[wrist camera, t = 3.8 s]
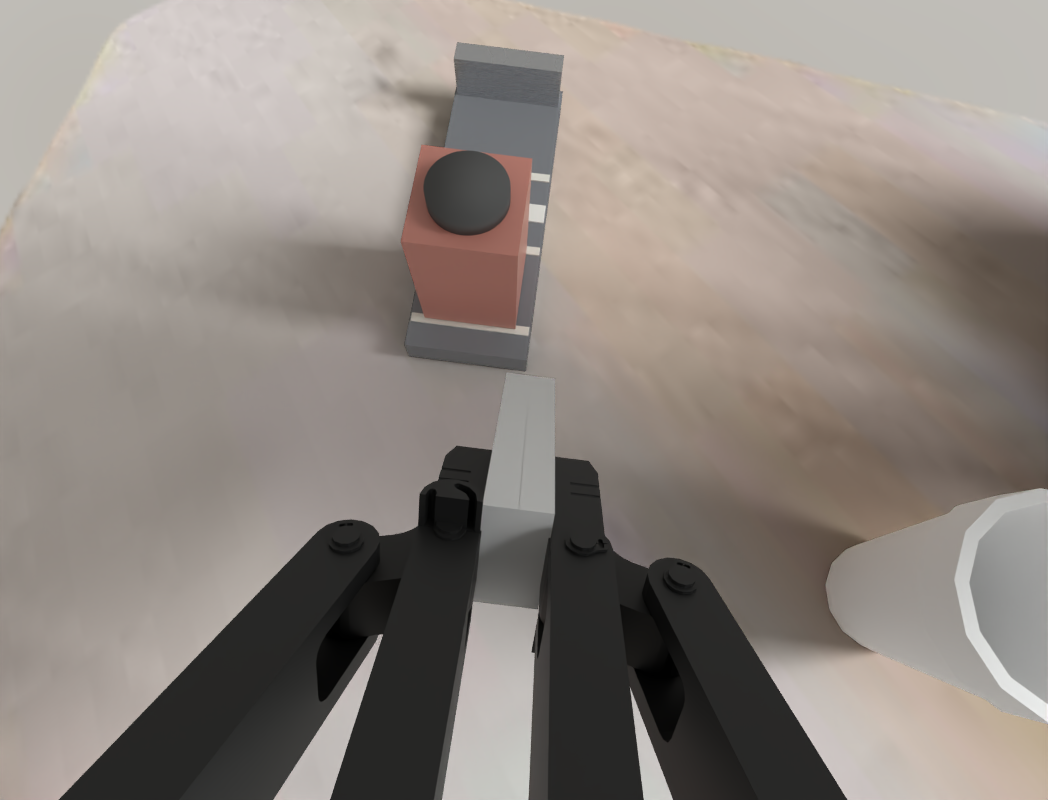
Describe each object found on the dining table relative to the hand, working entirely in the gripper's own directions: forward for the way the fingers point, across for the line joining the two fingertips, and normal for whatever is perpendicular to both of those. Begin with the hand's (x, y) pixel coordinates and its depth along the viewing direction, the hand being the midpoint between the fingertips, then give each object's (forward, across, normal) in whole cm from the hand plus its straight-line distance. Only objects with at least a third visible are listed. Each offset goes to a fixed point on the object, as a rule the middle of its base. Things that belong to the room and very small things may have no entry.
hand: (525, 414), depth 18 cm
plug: (+22, -4, -3) cm, 23 cm away
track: (+28, -4, 0) cm, 28 cm away
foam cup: (+12, +23, -16) cm, 31 cm away
